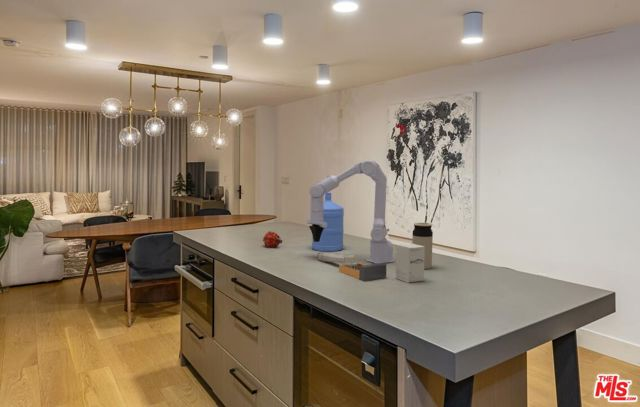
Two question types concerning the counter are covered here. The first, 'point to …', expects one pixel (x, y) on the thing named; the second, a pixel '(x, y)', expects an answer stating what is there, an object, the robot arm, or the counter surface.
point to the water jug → (331, 227)
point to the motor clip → (365, 271)
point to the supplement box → (410, 262)
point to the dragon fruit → (271, 239)
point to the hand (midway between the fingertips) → (316, 241)
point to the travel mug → (424, 241)
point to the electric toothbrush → (338, 259)
